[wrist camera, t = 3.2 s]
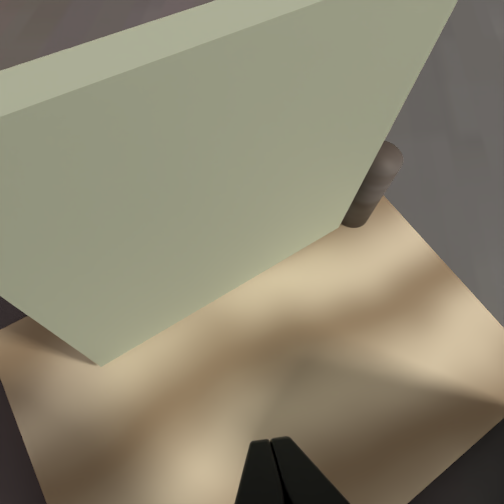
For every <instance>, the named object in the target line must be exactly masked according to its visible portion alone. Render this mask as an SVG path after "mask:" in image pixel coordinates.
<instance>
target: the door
mask: <svg viewBox="0 0 504 504" xmlns="http://www.w3.org/2000/svg"><path fill="white" fill-rule="evenodd" d="M457 1H458V0H216V1H213V2H209V3H206V4H203V5H200V6H197V7H194V8H191V9H188V10H185V11H182V12H179V13H176V14H173V15H170V16H167V17H164V18H161V19H157V20H154V21H151V22H148V23H145V24H142V25H139V26H136V27H133V28H130V29H127V30H124V31H121V32H118V33H115V34H112V35H109V36H106V37H102V38H99V39H96V40H93V41H90V42H87V43H84V44H81V45H78V46H75V47H72V48H69V49H66V50H63V51H60V52H57V53H54V54H50V55H47V56H44V57H41V58H38V59H35V60H32V61H29V62H26V63H23V64H20V65H17V66H14V67H11V68H8V69H5V70H2V71H0V296H1V297H2V298H4V299H5V300H7V301H8V302H9V303H11V304H12V305H14V306H15V307H17V308H18V309H19V310H21V311H22V312H24V313H25V314H26V315H28V316H29V317H31V318H32V319H34V320H35V321H36V322H38V323H39V324H41V325H42V326H44V327H45V328H46V329H48V330H49V331H51V332H52V333H53V334H55V335H56V336H58V337H59V338H61V339H62V340H63V341H65V342H66V343H68V344H69V345H71V346H72V347H73V348H75V349H76V350H78V351H79V352H80V353H82V354H83V355H85V356H86V357H88V358H89V359H90V360H92V361H93V362H95V363H96V364H98V365H99V366H100V367H102V366H104V365H105V364H107V363H109V362H110V361H112V360H114V359H116V358H117V357H119V356H121V355H122V354H124V353H126V352H128V351H129V350H131V349H133V348H134V347H136V346H138V345H139V344H141V343H143V342H145V341H146V340H148V339H150V338H151V337H153V336H155V335H156V334H158V333H160V332H162V331H163V330H165V329H167V328H168V327H170V326H172V325H174V324H175V323H177V322H179V321H180V320H182V319H184V318H185V317H187V316H189V315H191V314H192V313H194V312H196V311H197V310H199V309H201V308H202V307H204V306H206V305H208V304H209V303H211V302H213V301H214V300H216V299H218V298H219V297H221V296H223V295H225V294H226V293H228V292H230V291H231V290H233V289H235V288H237V287H238V286H240V285H242V284H243V283H245V282H247V281H248V280H250V279H252V278H254V277H255V276H257V275H259V274H260V273H262V272H264V271H265V270H267V269H269V268H271V267H272V266H274V265H276V264H277V263H279V262H281V261H283V260H284V259H286V258H288V257H289V256H291V255H293V254H294V253H296V252H298V251H300V250H301V249H303V248H305V247H306V246H308V245H310V244H311V243H313V242H315V241H317V240H318V239H320V238H322V237H323V236H325V235H327V234H328V233H330V232H332V231H334V230H335V229H337V228H339V226H340V224H341V222H342V220H343V218H344V216H345V214H346V212H347V211H348V209H349V207H350V205H351V203H352V201H353V199H354V197H355V195H356V193H357V192H358V190H359V188H360V186H361V184H362V182H363V180H364V178H365V176H366V174H367V172H368V171H369V169H370V167H371V165H372V163H373V161H374V159H375V157H376V155H377V153H378V151H379V150H380V148H381V146H382V144H383V142H384V140H385V138H386V136H387V134H388V132H389V131H390V129H391V127H392V125H393V123H394V121H395V119H396V117H397V115H398V113H399V111H400V110H401V108H402V106H403V104H404V102H405V100H406V98H407V96H408V94H409V92H410V90H411V89H412V87H413V85H414V83H415V81H416V79H417V77H418V75H419V73H420V71H421V70H422V68H423V66H424V64H425V62H426V60H427V58H428V56H429V54H430V52H431V50H432V49H433V47H434V45H435V43H436V41H437V39H438V37H439V35H440V33H441V31H442V29H443V28H444V26H445V24H446V22H447V20H448V18H449V16H450V14H451V12H452V10H453V9H454V7H455V5H456V3H457Z"/></svg>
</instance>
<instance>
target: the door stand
mask: <svg viewBox="0 0 504 504" xmlns="http://www.w3.org/2000/svg"><path fill="white" fill-rule="evenodd" d="M402 164H403V156H402V153H401V152H400V150H399V149H398V148H397V147H396V146H395V145H393V144H392V143H390V142H387V141H384V142H383V144H382V146H381V148H380V150H379V151H378V153H377V155H376V157H375V159H374V161H373V163H372V165H371V167H370V169H369V171H368V172H367V174H366V176H365V178H364V180H363V182H362V184H361V186H360V188H359V190H358V192H357V193H356V195H355V197H354V199H353V201H352V203H351V205H350V207H349V209H348V211H347V212H346V214H345V216H344V218H343V220H342V222H341V224H340V226H339V228H337V229H335V230H334V231H332V232H330V233H328V234H327V235H325V236H323V237H322V238H320V239H318V240H317V241H315V242H313V243H311V244H310V245H308V246H306V247H305V248H303V249H301V250H300V251H298V252H296V253H294V254H293V255H291V256H289V257H288V258H286V259H284V260H283V261H281V262H279V263H277V264H276V265H274V266H272V267H271V268H269V269H267V270H265V271H264V272H262V273H260V274H259V275H257V276H255V277H254V278H252V279H250V280H248V281H247V282H245V283H243V284H242V285H240V286H238V287H237V288H235V289H233V290H231V291H230V292H228V293H226V294H225V295H223V296H221V297H219V298H218V299H216V300H214V301H213V302H211V303H209V304H208V305H206V306H204V307H202V308H201V309H199V310H197V311H196V312H194V313H192V314H191V315H189V316H187V317H185V318H184V319H182V320H180V321H179V322H177V323H175V324H174V325H172V326H170V327H168V328H167V329H165V330H163V331H162V332H160V333H158V334H156V335H155V336H153V337H151V338H150V339H148V340H146V341H145V342H143V343H141V344H139V345H138V346H136V347H134V348H133V349H131V350H129V351H128V352H126V353H124V354H122V355H121V356H119V357H117V358H116V359H114V360H112V361H110V362H109V363H107V364H105V365H104V366H102V367H100V366H99V365H98V364H96V363H95V362H93V361H92V360H90V359H89V358H88V357H86V356H85V355H83V354H82V353H80V352H79V351H78V350H76V349H75V348H73V347H72V346H71V345H69V344H68V343H66V342H65V341H63V340H62V339H61V338H59V337H58V336H56V335H55V334H53V333H52V332H51V331H49V330H48V329H46V328H45V327H44V326H42V325H41V324H39V323H38V322H36V321H35V320H34V319H32V318H31V317H29V316H26V317H25V318H23V319H21V320H19V321H17V322H15V323H13V324H11V325H9V326H7V327H5V328H3V329H1V330H0V379H1V382H2V384H3V387H4V390H5V392H6V395H7V398H8V401H9V403H10V406H11V409H12V411H13V414H14V417H15V419H16V422H17V425H18V428H19V430H20V433H21V436H22V438H23V441H24V444H25V446H26V449H27V452H28V455H29V457H30V460H31V463H32V465H33V468H34V471H35V473H36V476H37V479H38V481H39V484H40V487H41V490H42V492H43V495H44V498H45V500H46V503H47V504H234V503H235V499H236V495H237V491H238V487H239V483H240V479H241V475H242V471H243V467H244V463H245V460H246V456H247V452H248V448H249V444H250V442H251V441H254V440H261V439H268V440H269V441H270V440H271V439H272V438H275V437H283V436H289V437H290V438H292V440H293V441H294V442H295V443H296V444H297V445H298V446H299V447H300V448H301V449H302V451H303V452H304V453H305V454H306V455H307V456H308V457H309V458H310V459H311V461H312V462H313V463H314V464H315V465H316V466H317V467H318V468H319V469H320V470H321V472H322V473H323V474H324V475H325V476H326V477H327V478H328V479H329V480H330V481H331V483H332V484H333V485H334V486H335V487H336V488H337V489H338V490H339V491H340V492H341V494H342V495H343V496H344V497H345V498H346V499H347V500H348V501H349V502H350V503H351V504H407V503H409V502H410V501H411V500H412V499H413V498H414V497H415V496H416V495H418V494H419V493H420V492H421V491H422V490H423V489H424V488H425V487H427V486H428V485H429V484H430V483H431V482H432V481H433V480H434V479H436V478H437V477H438V476H439V475H440V474H441V473H442V472H443V471H445V470H446V469H447V468H448V467H449V466H450V465H451V464H452V463H454V462H455V461H456V460H457V459H458V458H459V457H460V456H461V455H463V454H464V453H465V452H466V451H467V450H468V449H469V448H470V447H472V446H473V445H474V444H475V443H476V442H477V441H478V440H479V439H481V438H482V437H483V436H484V435H485V434H486V433H487V432H488V431H490V430H491V429H492V428H493V427H494V426H495V425H496V424H497V423H499V422H500V421H501V420H502V419H503V418H504V328H503V327H502V326H501V325H500V323H499V322H498V321H497V320H496V319H495V318H494V317H493V316H492V315H491V314H490V312H489V311H488V310H487V309H486V308H485V307H484V306H483V305H482V304H481V302H480V301H479V300H478V299H477V298H476V297H475V296H474V295H473V294H472V293H471V291H470V290H469V289H468V288H467V287H466V286H465V285H464V284H463V283H462V282H461V280H460V279H459V278H458V277H457V276H456V275H455V274H454V273H453V272H452V270H451V269H450V268H449V267H448V266H447V265H446V264H445V263H444V262H443V261H442V259H441V258H440V257H439V256H438V255H437V254H436V253H435V252H434V251H433V250H432V248H431V247H430V246H429V245H428V244H427V243H426V242H425V241H424V240H423V238H422V237H421V236H420V235H419V234H418V233H417V232H416V231H415V230H414V229H413V227H412V226H411V225H410V224H409V223H408V222H407V221H406V220H405V219H404V218H403V216H402V215H401V214H400V213H399V212H398V211H397V210H396V209H395V208H394V207H393V205H392V204H391V203H390V202H389V201H388V200H387V199H386V198H385V197H384V193H385V192H386V190H387V188H388V187H389V185H390V184H391V182H392V181H393V179H394V177H395V176H396V174H397V173H398V171H399V169H400V168H401V166H402Z"/></svg>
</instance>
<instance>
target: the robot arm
mask: <svg viewBox="0 0 504 504" xmlns="http://www.w3.org/2000/svg"><path fill="white" fill-rule="evenodd" d="M234 504H351V503H350V502H349V501H348V500H347V499H346V498H345V497H344V496H343V495H342V494H341V492H340V491H339V490H338V489H337V488H336V487H335V486H334V485H333V484H332V483H331V481H330V480H329V479H328V478H327V477H326V476H325V475H324V474H323V473H322V472H321V470H320V469H319V468H318V467H317V466H316V465H315V464H314V463H313V462H312V461H311V459H310V458H309V457H308V456H307V455H306V454H305V453H304V452H303V451H302V449H301V448H300V447H299V446H298V445H297V444H296V443H295V442H294V441H293V440H292V438H290V437H289V436H283V437H275V438H272V439H271V440H270V441H269V440H268V439H261V440H254V441H251V442H250V444H249V448H248V452H247V456H246V460H245V463H244V467H243V471H242V475H241V479H240V483H239V487H238V491H237V495H236V499H235V503H234Z"/></svg>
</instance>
